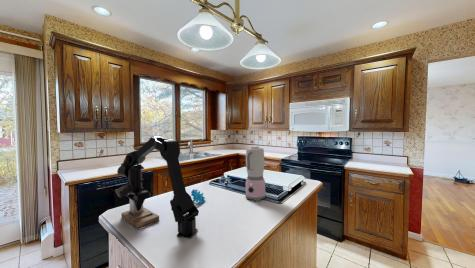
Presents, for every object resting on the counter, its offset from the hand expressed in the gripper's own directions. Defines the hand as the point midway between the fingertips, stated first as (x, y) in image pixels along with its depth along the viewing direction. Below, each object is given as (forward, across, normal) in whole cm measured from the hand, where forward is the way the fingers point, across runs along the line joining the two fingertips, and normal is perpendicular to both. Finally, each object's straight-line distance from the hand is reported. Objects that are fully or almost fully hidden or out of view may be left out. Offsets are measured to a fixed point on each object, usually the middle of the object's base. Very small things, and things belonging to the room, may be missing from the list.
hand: (136, 209), depth 95 cm
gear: (+4, +9, +31) cm, 33 cm away
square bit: (+2, 0, 0) cm, 3 cm away
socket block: (+4, +4, 0) cm, 6 cm away
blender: (+4, +32, +56) cm, 65 cm away
